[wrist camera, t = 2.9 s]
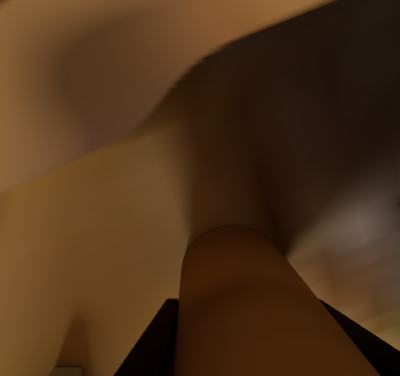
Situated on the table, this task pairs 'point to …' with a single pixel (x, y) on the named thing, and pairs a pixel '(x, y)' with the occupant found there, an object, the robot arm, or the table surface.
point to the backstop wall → (66, 371)
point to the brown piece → (254, 314)
